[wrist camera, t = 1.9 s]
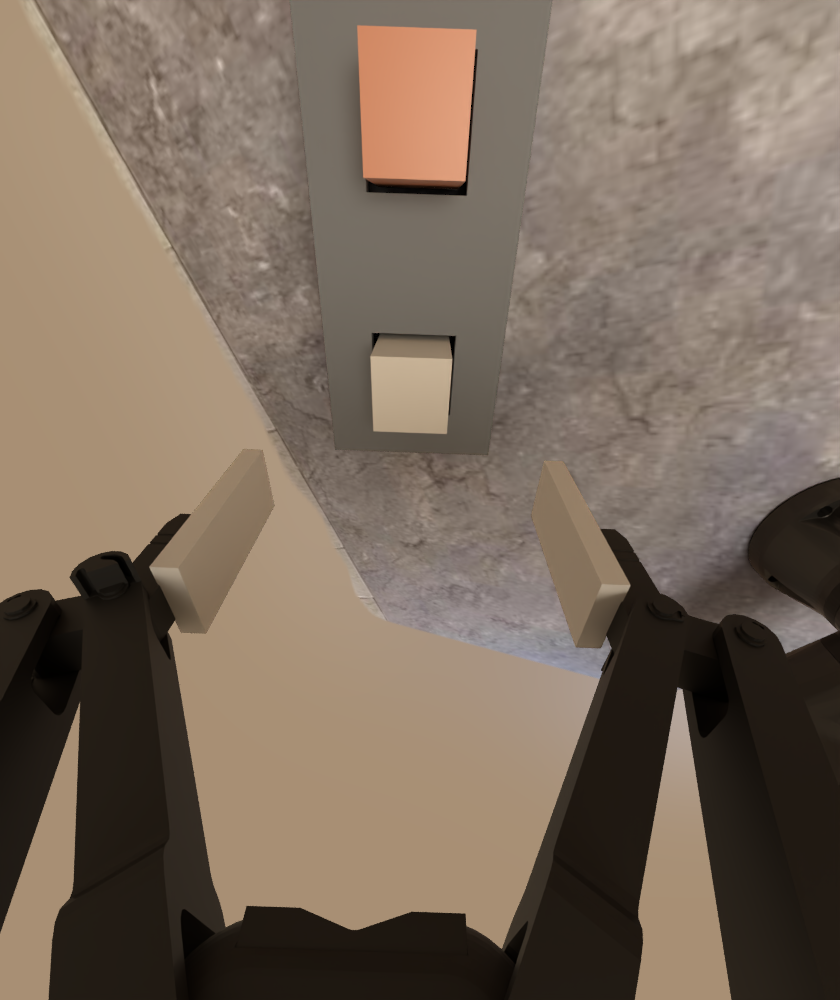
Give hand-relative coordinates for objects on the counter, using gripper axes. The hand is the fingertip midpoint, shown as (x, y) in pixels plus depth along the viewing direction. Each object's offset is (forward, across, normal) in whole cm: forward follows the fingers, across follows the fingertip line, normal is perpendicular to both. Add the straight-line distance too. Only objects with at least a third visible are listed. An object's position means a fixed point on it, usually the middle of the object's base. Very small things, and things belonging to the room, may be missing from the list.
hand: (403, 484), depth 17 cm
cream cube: (+17, 0, 0) cm, 17 cm away
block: (+22, 0, -6) cm, 23 cm away
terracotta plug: (+17, 0, -13) cm, 21 cm away
